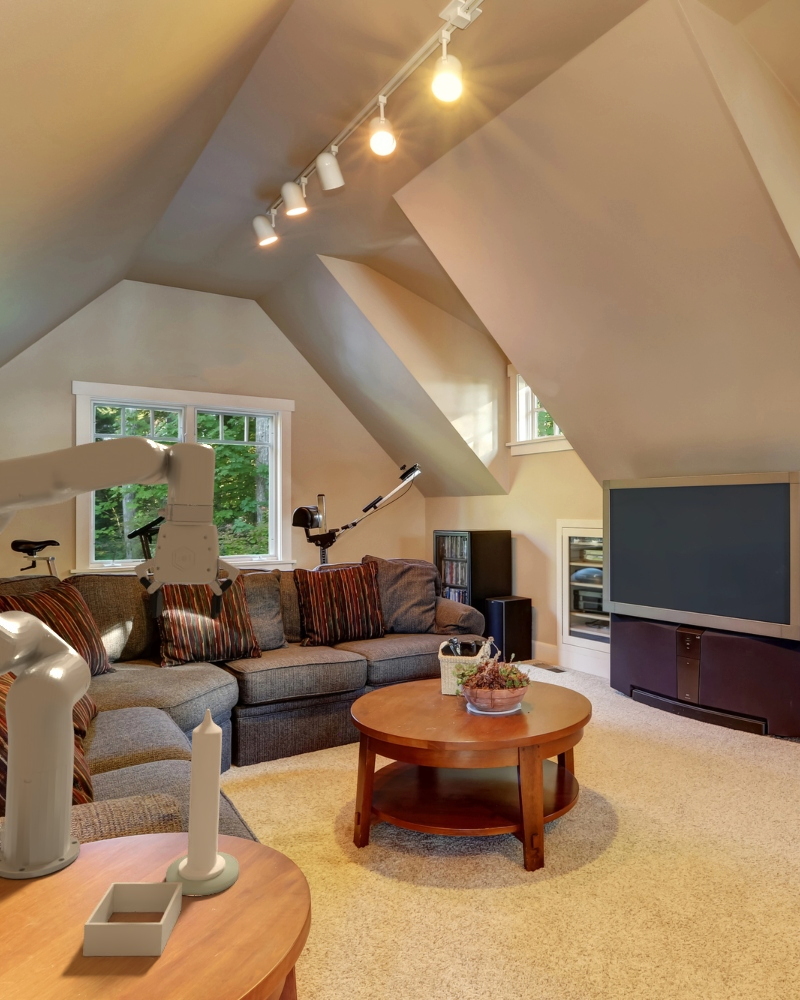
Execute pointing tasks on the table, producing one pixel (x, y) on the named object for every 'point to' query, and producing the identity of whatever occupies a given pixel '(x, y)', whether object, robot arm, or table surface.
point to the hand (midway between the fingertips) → (185, 617)
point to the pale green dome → (206, 886)
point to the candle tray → (133, 935)
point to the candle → (204, 804)
